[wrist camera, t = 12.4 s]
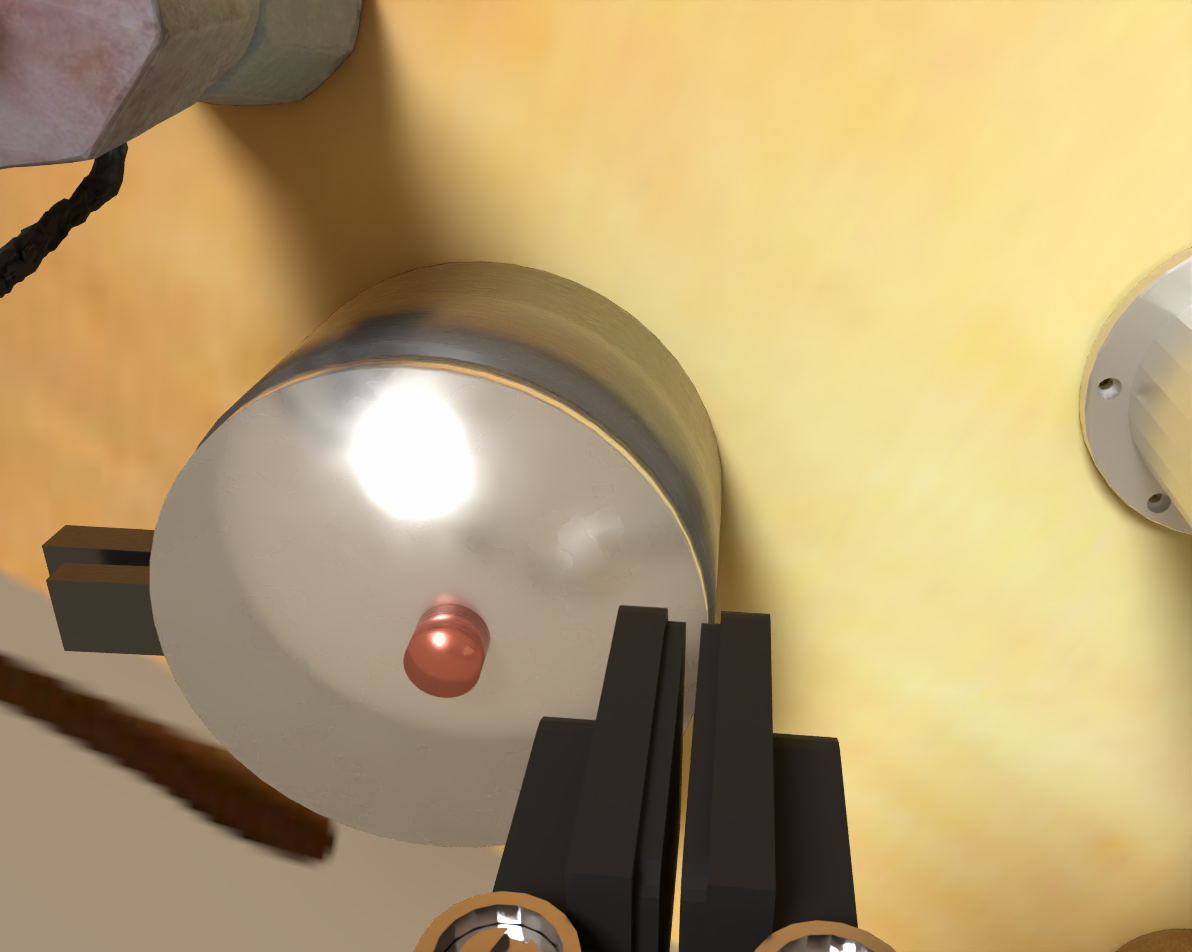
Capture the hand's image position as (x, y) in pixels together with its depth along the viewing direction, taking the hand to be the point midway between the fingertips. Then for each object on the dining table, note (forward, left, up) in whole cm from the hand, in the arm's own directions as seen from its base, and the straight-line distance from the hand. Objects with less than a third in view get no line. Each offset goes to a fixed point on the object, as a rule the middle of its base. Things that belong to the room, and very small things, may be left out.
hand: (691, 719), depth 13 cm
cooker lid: (+12, +14, -23) cm, 29 cm away
